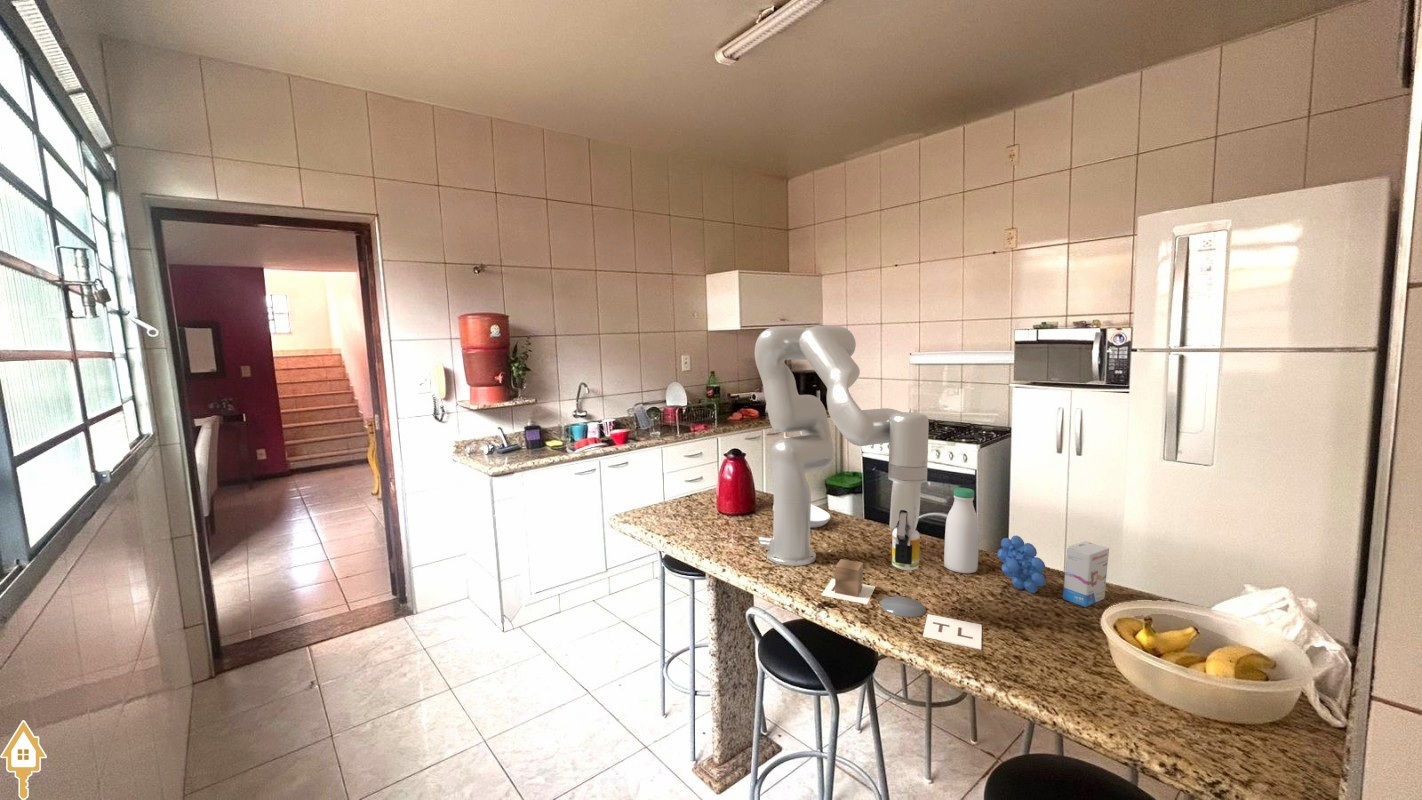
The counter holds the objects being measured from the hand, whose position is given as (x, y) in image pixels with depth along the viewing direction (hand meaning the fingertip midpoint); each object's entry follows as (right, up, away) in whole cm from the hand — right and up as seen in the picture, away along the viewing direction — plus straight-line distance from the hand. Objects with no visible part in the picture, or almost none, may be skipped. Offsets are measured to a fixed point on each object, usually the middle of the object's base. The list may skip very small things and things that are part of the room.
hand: (905, 557), depth 117 cm
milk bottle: (+22, -9, +23) cm, 33 cm away
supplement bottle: (0, -2, 0) cm, 2 cm away
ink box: (+41, -11, +6) cm, 43 cm away
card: (+6, -12, -9) cm, 16 cm away
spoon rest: (-13, -6, +62) cm, 63 cm away
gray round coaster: (0, -11, +1) cm, 11 cm away
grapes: (+29, -10, +10) cm, 32 cm away
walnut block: (-10, -10, +9) cm, 17 cm away
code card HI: (-10, -10, +9) cm, 17 cm away
